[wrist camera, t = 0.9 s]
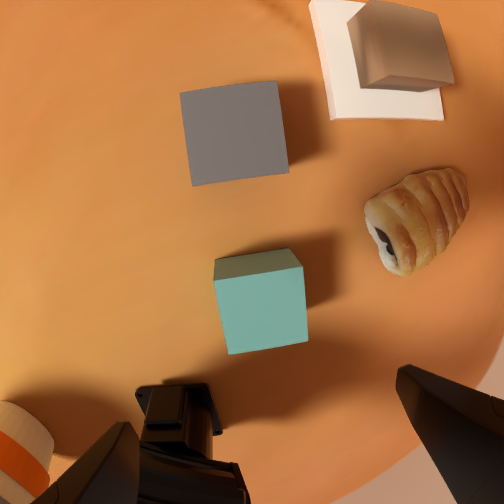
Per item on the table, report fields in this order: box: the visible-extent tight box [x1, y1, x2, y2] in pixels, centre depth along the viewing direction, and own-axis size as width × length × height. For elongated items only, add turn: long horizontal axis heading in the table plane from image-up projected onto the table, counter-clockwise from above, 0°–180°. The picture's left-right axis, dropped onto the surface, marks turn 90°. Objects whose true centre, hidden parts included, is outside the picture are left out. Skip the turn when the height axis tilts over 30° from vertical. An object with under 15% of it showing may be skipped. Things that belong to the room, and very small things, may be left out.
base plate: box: [308, 0, 444, 121], centre depth 17 cm, size 9×9×1 cm
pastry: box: [364, 168, 469, 277], centre depth 19 cm, size 9×7×4 cm
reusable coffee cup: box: [0, 401, 55, 504], centre depth 17 cm, size 13×13×15 cm
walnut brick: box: [347, 0, 455, 92], centre depth 14 cm, size 5×5×4 cm
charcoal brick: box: [180, 81, 289, 186], centre depth 17 cm, size 5×5×4 cm
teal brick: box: [213, 248, 308, 355], centre depth 20 cm, size 5×5×4 cm
